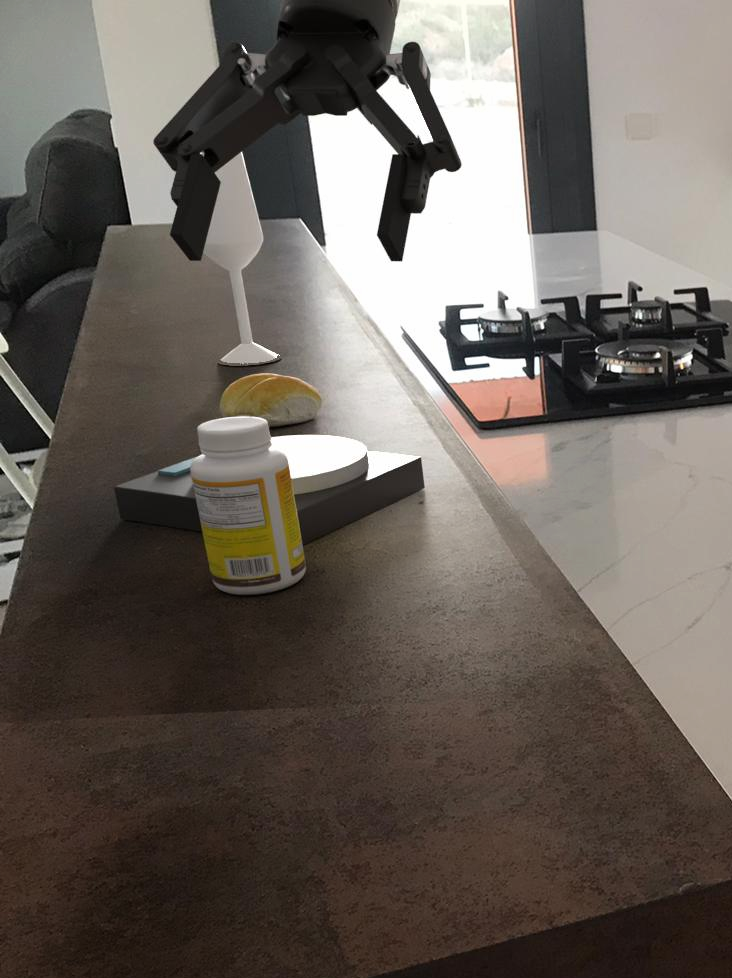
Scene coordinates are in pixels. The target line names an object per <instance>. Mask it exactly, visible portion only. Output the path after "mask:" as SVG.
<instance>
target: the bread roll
mask: <svg viewBox="0 0 732 978" xmlns="http://www.w3.org/2000/svg"><path fill="white" fill-rule="evenodd" d="M322 404H323V398H322V396H321V394H320V392H319V391H318V389H316V388H315V387H314V386H312V385H311V384H309V383H308V382H305V381H303V380H302V379H300V378H298V377H294V376H288V375H281V374H277V373H255V374H250V375H246V376H244V377H241V378H239V379H237V380H235V381H233V382H232V383H231V384H229V386H228V387H227V388H226V389H225V390H224V392H223V393H222V395H221V398H220V403H219V410H220V414H221V416H222V418H228V417H242V416H247V417H259V418H263V419H265V420H266V421H267V422H268V427H269V428H278V427H284V426H285V427H286V426H289V425H290V426H291V425H297V424H301V423H305V422H307V421H310V420H312V419H314V418H315V417H316V416H317V414H318V413H319V411H320V409H321V408H322Z"/></svg>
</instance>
